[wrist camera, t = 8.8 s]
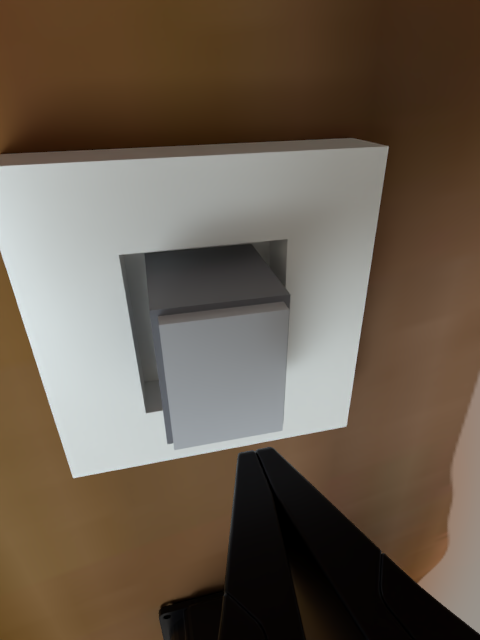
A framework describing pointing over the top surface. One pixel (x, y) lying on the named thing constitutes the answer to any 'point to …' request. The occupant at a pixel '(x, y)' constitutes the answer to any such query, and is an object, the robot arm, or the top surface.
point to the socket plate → (182, 234)
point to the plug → (218, 343)
